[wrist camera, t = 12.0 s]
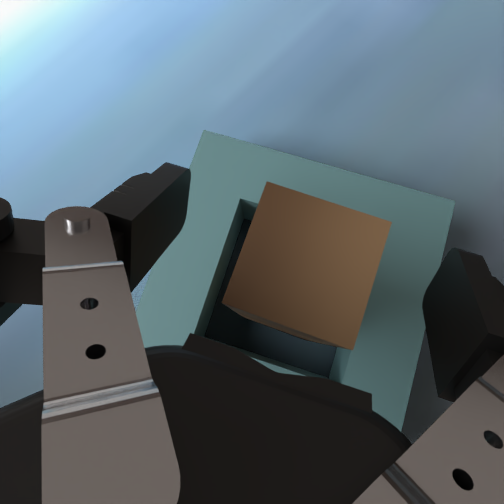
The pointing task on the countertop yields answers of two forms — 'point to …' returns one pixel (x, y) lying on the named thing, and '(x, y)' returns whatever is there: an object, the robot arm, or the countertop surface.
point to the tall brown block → (307, 267)
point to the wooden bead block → (244, 206)
